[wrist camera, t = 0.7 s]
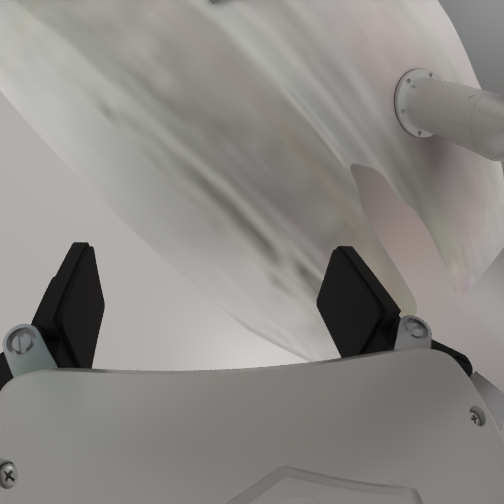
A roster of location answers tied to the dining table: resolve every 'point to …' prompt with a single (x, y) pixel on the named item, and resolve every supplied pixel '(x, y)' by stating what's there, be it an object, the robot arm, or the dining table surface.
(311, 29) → the dining table surface
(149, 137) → the dining table surface
